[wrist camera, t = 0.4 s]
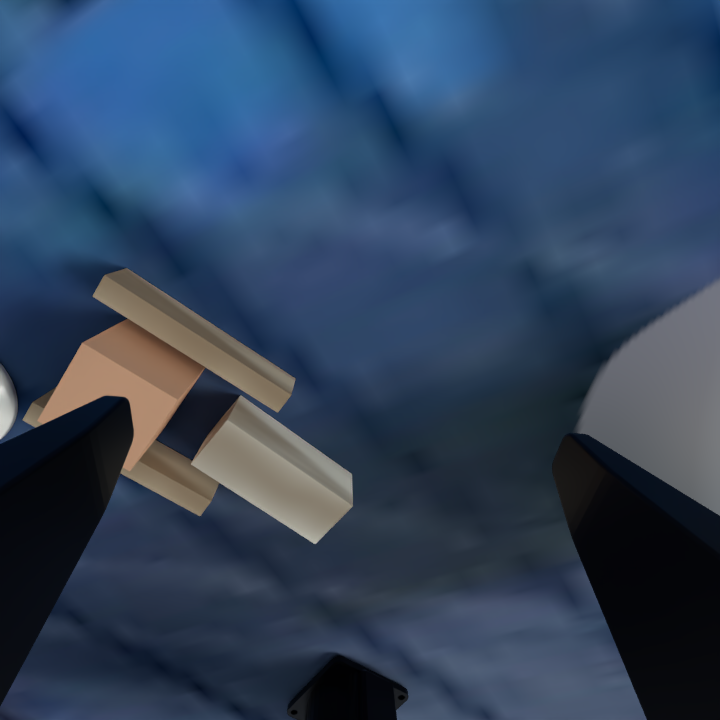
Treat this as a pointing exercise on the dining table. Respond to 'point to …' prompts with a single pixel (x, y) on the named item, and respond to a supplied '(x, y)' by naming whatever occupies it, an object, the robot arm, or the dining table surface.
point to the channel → (204, 346)
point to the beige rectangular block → (276, 470)
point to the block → (127, 380)
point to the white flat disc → (7, 402)
